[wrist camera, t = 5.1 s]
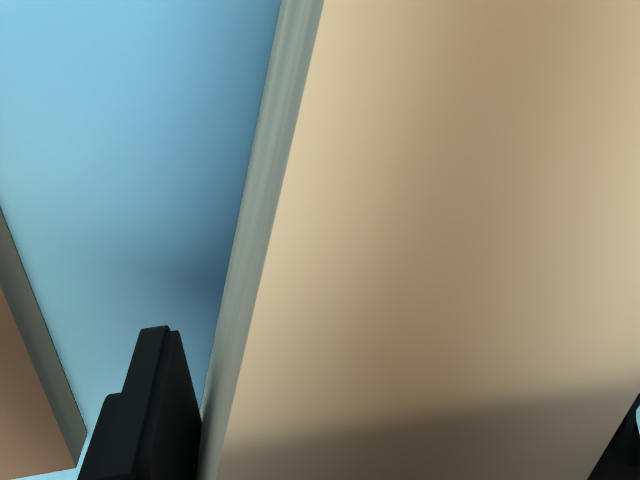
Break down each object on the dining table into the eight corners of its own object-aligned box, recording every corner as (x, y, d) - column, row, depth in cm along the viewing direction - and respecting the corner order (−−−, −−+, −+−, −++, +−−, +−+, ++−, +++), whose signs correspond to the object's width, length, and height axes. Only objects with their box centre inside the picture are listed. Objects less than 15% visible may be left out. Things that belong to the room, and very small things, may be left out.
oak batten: (647, -225, 9) (1179, -504, 4) (321, 616, 19) (351, 871, 13) (350, -350, 8) (544, -966, 3) (159, 614, 18) (121, 890, 12)
